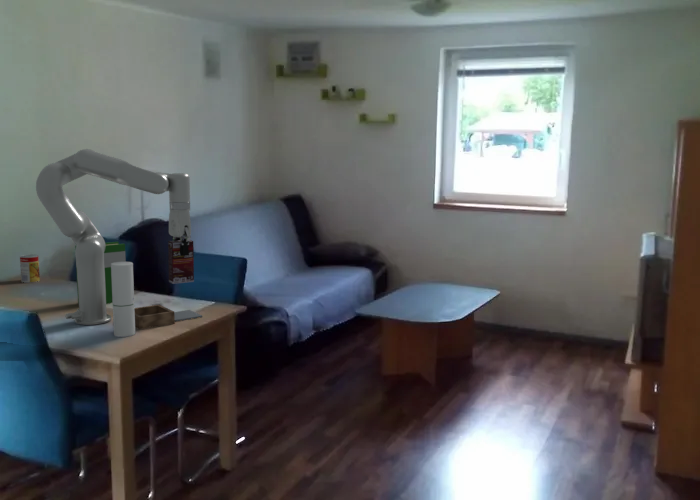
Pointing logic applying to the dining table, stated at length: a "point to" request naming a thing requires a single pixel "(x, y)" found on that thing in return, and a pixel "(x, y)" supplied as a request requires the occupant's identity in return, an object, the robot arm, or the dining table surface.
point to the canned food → (29, 268)
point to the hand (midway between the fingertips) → (181, 253)
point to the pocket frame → (153, 316)
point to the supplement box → (180, 263)
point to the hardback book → (111, 255)
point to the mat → (185, 315)
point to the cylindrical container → (123, 299)
